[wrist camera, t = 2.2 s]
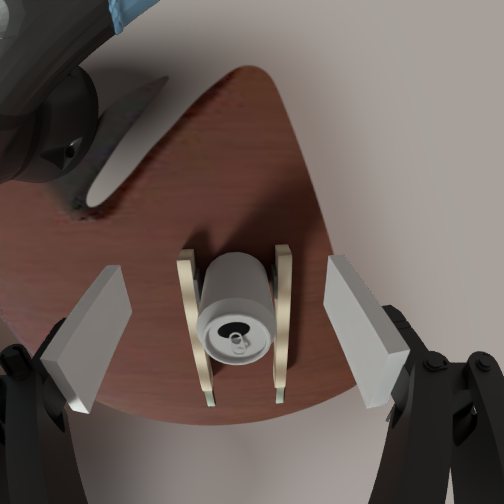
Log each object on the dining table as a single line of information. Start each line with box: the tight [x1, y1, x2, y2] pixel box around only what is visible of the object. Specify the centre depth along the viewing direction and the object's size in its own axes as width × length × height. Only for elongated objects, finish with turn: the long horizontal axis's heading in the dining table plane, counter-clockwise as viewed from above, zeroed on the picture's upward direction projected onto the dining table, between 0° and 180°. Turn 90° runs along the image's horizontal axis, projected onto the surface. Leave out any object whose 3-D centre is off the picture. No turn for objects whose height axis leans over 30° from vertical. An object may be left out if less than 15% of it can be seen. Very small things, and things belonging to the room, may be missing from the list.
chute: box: [177, 244, 292, 406], centre depth 39 cm, size 30×13×3 cm, turn 2°
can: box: [196, 252, 276, 365], centre depth 30 cm, size 8×8×12 cm
